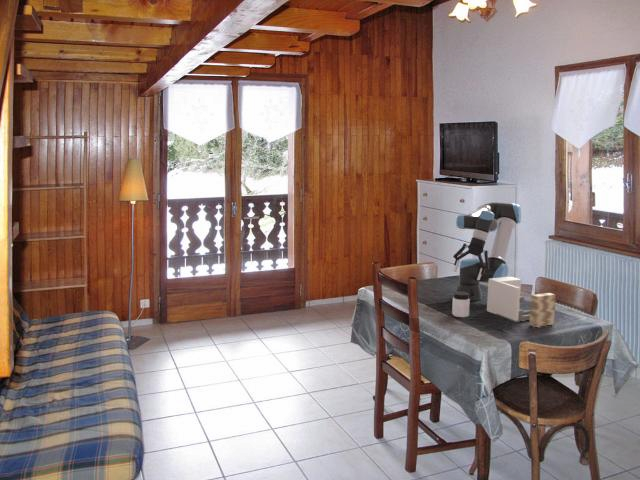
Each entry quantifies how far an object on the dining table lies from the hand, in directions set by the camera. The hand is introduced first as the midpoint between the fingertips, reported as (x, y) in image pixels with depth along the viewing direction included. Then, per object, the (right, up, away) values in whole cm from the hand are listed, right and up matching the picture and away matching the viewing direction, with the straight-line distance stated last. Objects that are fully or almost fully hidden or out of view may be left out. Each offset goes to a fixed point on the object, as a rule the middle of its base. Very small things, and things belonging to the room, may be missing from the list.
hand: (466, 275), depth 344 cm
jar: (-5, -21, -6) cm, 22 cm away
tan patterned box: (+33, -24, -23) cm, 46 cm away
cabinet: (+24, -21, -4) cm, 32 cm away
